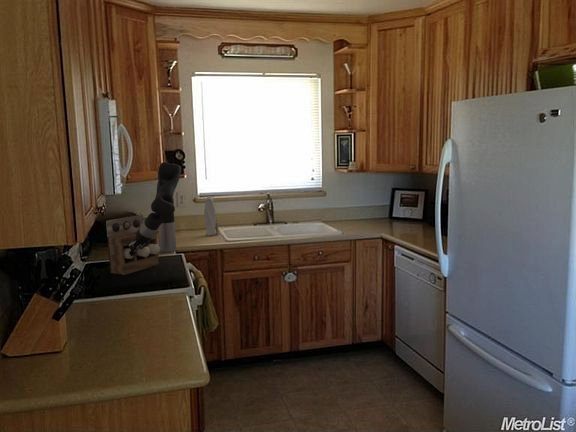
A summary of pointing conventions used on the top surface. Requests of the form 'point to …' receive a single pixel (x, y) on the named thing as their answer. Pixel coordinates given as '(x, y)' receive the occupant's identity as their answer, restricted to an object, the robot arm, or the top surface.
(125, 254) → the button left
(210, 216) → the skyscraper
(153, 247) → the button right
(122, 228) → the brown toy oven
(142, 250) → the button middle
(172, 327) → the top surface
